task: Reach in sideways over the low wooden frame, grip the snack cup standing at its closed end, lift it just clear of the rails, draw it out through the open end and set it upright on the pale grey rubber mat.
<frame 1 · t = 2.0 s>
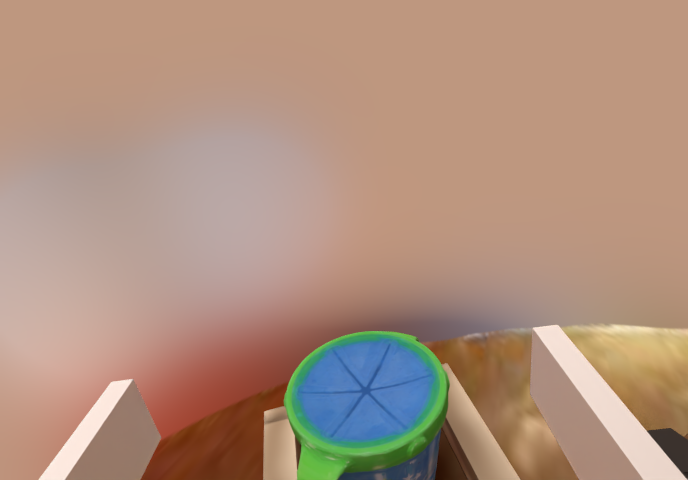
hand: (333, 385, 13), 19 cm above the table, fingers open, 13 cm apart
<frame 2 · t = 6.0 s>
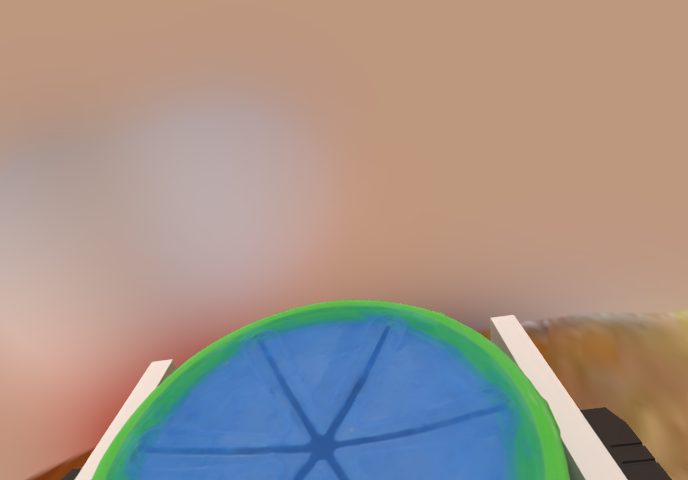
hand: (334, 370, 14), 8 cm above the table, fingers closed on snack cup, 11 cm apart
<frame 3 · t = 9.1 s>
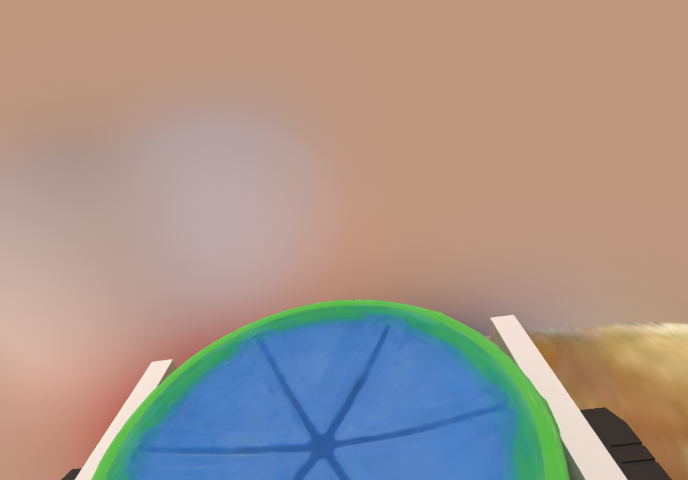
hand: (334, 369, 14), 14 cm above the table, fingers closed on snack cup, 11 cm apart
when the fingers open (10 cm above the table, at t = 12.2 s): snack cup drops 1 cm, resting on grey mat.
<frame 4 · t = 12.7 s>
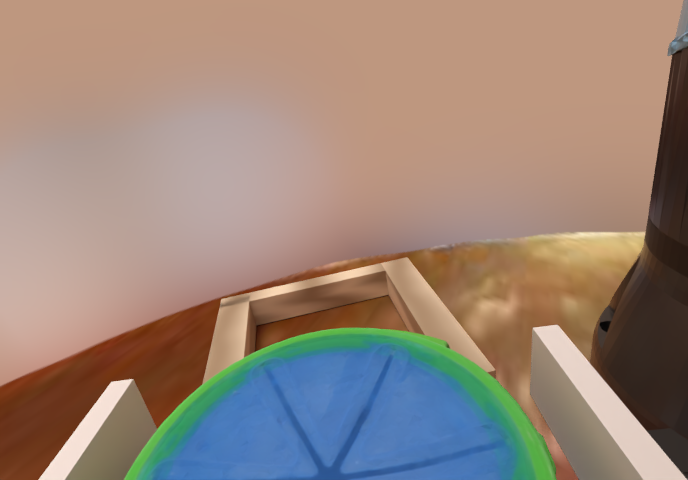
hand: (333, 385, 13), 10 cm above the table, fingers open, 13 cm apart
wooden frame: (333, 352, 29), on the table
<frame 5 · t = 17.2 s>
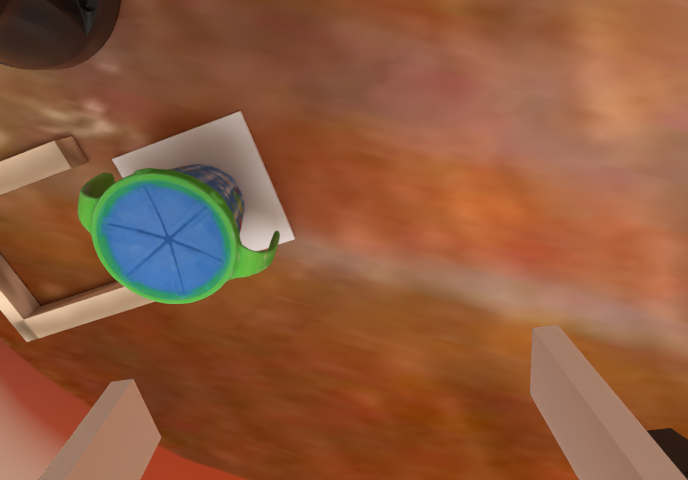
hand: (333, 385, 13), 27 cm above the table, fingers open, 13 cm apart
snack cup: (208, 200, 38), resting on grey mat
wooden frame: (54, 242, 40), on the table
grey mat: (208, 199, 38), on the table
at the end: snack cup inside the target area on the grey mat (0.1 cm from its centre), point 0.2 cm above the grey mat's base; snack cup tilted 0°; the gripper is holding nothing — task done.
